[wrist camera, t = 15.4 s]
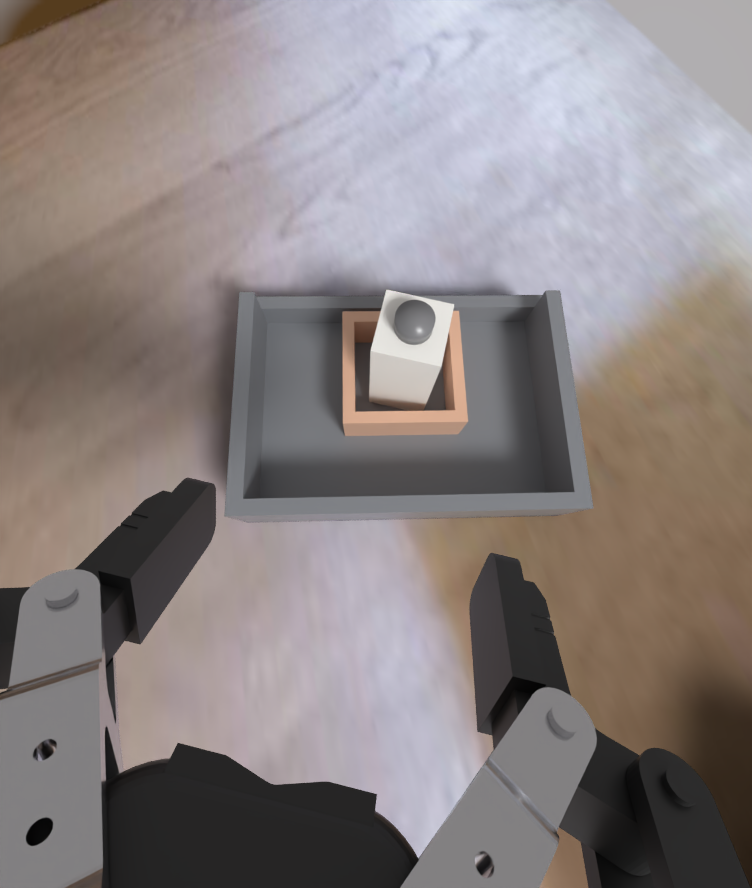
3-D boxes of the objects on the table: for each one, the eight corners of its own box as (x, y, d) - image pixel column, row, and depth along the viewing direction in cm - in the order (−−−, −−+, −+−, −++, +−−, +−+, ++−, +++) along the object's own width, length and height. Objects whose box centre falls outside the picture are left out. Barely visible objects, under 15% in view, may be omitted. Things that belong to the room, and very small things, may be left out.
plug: (422, 413, 31) (444, 358, 22) (368, 401, 31) (370, 342, 22) (432, 365, 32) (458, 294, 23) (381, 353, 32) (387, 278, 23)
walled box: (247, 522, 30) (224, 516, 25) (258, 318, 34) (240, 279, 29) (556, 515, 30) (593, 508, 25) (530, 316, 34) (557, 278, 29)
